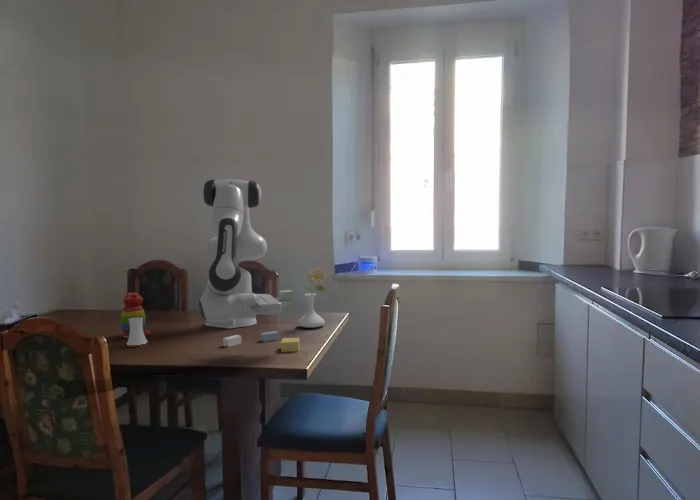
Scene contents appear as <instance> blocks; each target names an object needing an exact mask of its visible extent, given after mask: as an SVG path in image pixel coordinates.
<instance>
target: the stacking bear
mask: <svg viewBox="0 0 700 500" xmlns="http://www.w3.org/2000/svg"><path fill="white" fill-rule="evenodd" d="M143 301H144V299H143V297H142V296H141V295H140V294H139V293H137V292H129V291H128V292H126V294H125V295H124V297H123V303H124V306H125V307H123V308H122V311H121V316H120V325H121V326H120V327H121V329H122V335H123V336H129V334H130V324H129V319H131V318H143V321H142V326H143V332H144V335H148V334H151V333H152V331H151V330H148V329H145V328H146V323H147V321H146V319H147V316H146V313H145V310H144V308H143V306H142V304H143ZM122 335H121V336H122ZM151 335H152V334H151Z"/></svg>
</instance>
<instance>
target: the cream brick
mask: <svg viewBox="0 0 700 500" xmlns="http://www.w3.org/2000/svg"><path fill="white" fill-rule="evenodd" d="M222 343H223V347H226V346H228V347H227V348H230V346H231V347H233V345H234V346H238V345H241V344H243V342H242V335H239V334H234V335H231V336H230V335H229V336H227V337H226V336H225V337H223V338H222ZM237 344H238V345H237Z"/></svg>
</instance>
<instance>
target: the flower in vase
mask: <svg viewBox="0 0 700 500" xmlns="http://www.w3.org/2000/svg"><path fill="white" fill-rule="evenodd" d="M327 278H328V274H326V272H325V270H324V269H323V268H320V267H315V268H312V269H311V270H309V272H308V275H307V279H308V282H309V283H310V285H313V286H314V288H313V290H312V289H311V288H308V287H306V286H305V285H304V286H303V287H304V288H305V289H306V290H307V291H310V292H311V293H305V294H304V296H305V298H306V301H307V304H308V305H307V312H306V313H305V314H304V315H303V316H302V317H301V318H299V320H298V322H297V324H298V326H300V327H302V328H308V329H309V328H310V329H314V328H318V327H321V326H324V325H325V323H326V321H325V319H323V317H321V315H318V313H316V312H315V308H314V302H315V297H316V296H317V293H314V292H315V290H317V292H323V291H326V288H325V287H324V286H323V284H324V283H326V282H327V281H326V280H327Z"/></svg>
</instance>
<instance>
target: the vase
mask: <svg viewBox="0 0 700 500" xmlns="http://www.w3.org/2000/svg"><path fill="white" fill-rule="evenodd" d="M142 321H143V318H131V319H129V324H130V334H129V338H127V342H126V343H125V344H127V345H141V344H146V343H147V342H148V343H149V340H147V337H146V336H145V335H144V332H143V326H142Z"/></svg>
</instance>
